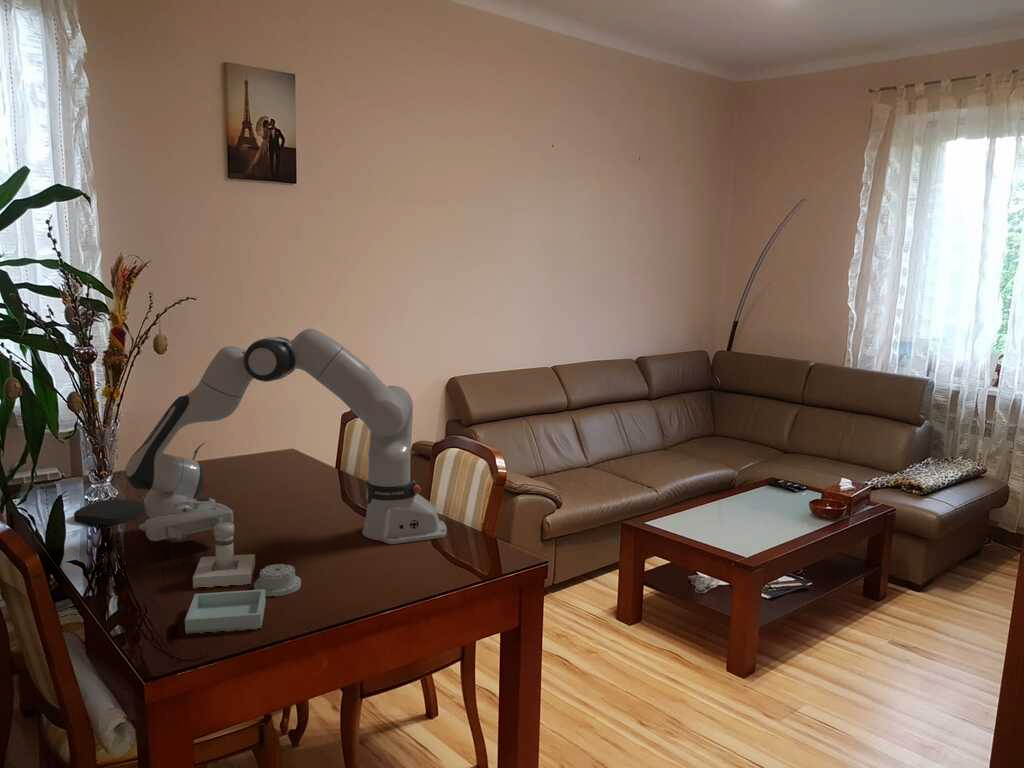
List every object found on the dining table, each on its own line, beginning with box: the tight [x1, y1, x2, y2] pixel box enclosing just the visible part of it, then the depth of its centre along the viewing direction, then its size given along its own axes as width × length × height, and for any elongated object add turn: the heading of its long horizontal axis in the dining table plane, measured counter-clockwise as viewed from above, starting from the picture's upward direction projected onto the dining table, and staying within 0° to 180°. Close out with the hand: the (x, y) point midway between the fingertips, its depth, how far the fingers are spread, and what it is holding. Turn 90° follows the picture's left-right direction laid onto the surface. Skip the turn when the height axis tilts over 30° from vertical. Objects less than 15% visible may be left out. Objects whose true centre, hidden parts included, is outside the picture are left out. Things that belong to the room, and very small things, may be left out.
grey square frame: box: [192, 553, 256, 589], centre depth 178 cm, size 12×12×2 cm
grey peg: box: [213, 522, 235, 571], centre depth 177 cm, size 4×4×12 cm
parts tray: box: [184, 589, 267, 635], centre depth 157 cm, size 14×12×3 cm
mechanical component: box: [253, 563, 302, 597], centre depth 172 cm, size 10×4×10 cm
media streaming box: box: [73, 499, 145, 526], centre depth 216 cm, size 15×15×3 cm
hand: (202, 531), depth 185 cm, fingers open, 8 cm apart
